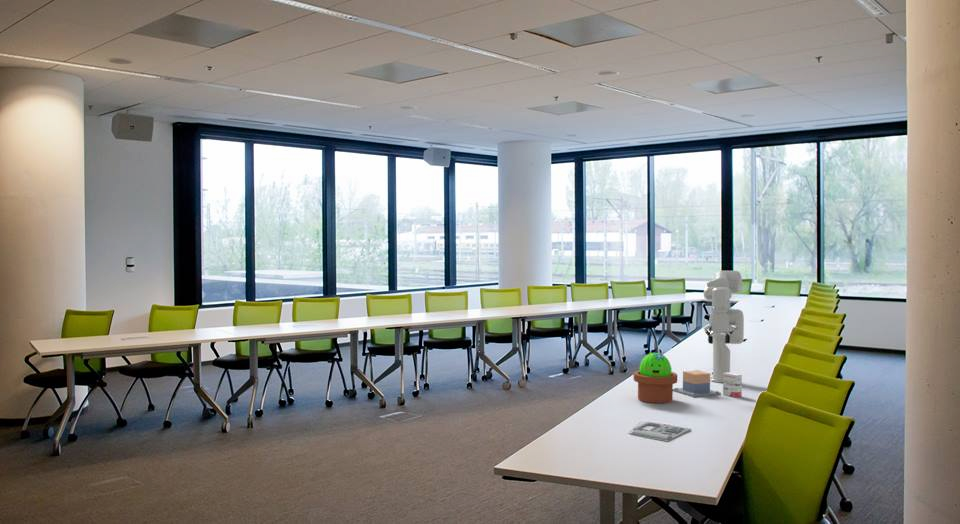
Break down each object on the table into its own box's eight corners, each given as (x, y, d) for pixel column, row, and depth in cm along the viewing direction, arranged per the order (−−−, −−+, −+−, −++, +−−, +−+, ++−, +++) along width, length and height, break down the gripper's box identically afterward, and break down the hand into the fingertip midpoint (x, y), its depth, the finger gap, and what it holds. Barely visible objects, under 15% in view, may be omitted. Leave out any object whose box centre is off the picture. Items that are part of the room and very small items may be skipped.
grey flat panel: (667, 437, 299) (623, 429, 311) (667, 444, 299) (623, 435, 311) (691, 425, 317) (648, 418, 329) (691, 431, 317) (648, 424, 329)
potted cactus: (633, 394, 390) (633, 347, 389) (675, 396, 386) (676, 349, 385) (633, 403, 369) (633, 354, 368) (678, 405, 364) (678, 355, 363)
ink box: (742, 396, 386) (742, 374, 385) (736, 397, 383) (737, 375, 382) (727, 393, 392) (727, 371, 392) (722, 394, 389) (722, 372, 389)
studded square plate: (698, 388, 406) (699, 368, 406) (721, 394, 390) (721, 374, 389) (672, 390, 399) (672, 370, 399) (693, 397, 383) (693, 376, 382)
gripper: (730, 310, 395) (730, 342, 396) (700, 310, 392) (700, 342, 392) (738, 311, 388) (737, 343, 388) (707, 312, 385) (707, 344, 385)
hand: (718, 343), depth 390 cm, fingers open, 9 cm apart
